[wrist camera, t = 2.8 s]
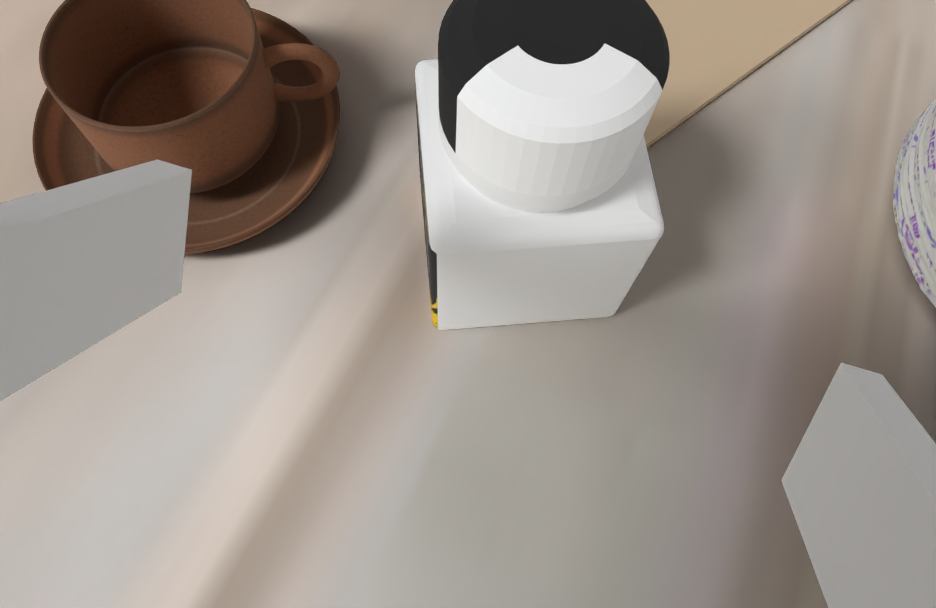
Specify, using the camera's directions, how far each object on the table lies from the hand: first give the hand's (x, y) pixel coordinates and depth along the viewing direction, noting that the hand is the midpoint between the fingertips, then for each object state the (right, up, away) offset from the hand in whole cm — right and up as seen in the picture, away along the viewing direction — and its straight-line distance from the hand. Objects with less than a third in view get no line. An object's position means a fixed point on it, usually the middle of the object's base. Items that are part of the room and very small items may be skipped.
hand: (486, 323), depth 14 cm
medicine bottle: (+1, +3, +15) cm, 15 cm away
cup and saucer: (-12, +7, +17) cm, 21 cm away
